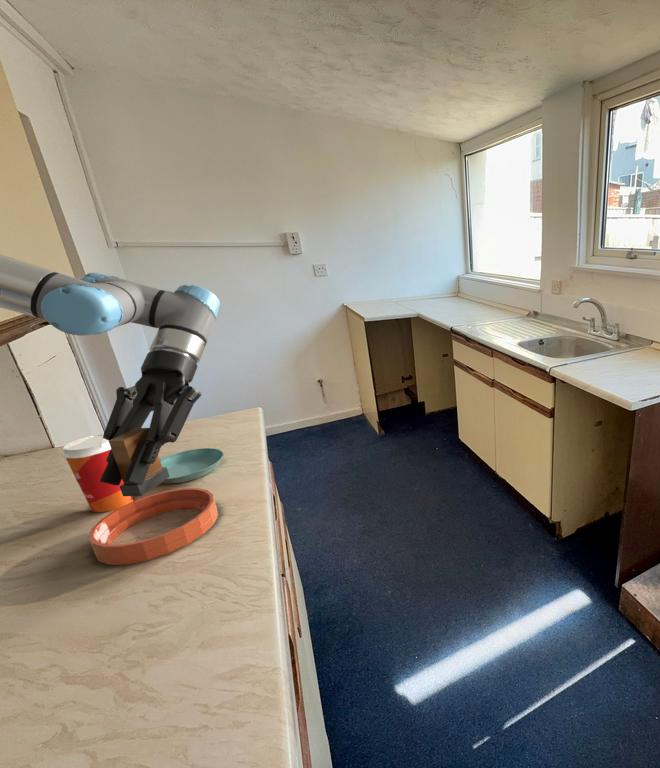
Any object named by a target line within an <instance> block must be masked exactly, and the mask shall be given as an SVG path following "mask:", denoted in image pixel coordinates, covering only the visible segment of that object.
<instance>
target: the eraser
mask: <svg viewBox="0 0 660 768" xmlns="http://www.w3.org/2000/svg"><path fill="white" fill-rule="evenodd" d="M149 428H150V427H141V428H135V429H133V430H131V431H128V432H126V433H124V434H122V435H120V436H118V437H116V438H114V439H112V440H109V444H110V447H111V449H112V452H113V455H114V458H115V461H116V463H117V466H118V469H119V472H120V475H121V477H122V480H123V483H124V484H122V485H120V489H121V492H122V495H123V496H132V497H142V496H143V495H145V494H146V493H149V491H152V489H154V488H155V487H157V486H159V485H160V484H162V482H163V481H164V480H166V479H167V478H169V477H170V476H169V473H168V470H167V467H162V465H161V461H160V459H161V458H160V455H159V454H158V456H157V458H156V461H155V462H154V463H153V464H150V467H149V469H148V472H147V474H146V477H145V479H144V482H143V484H142V485H136V484H132V483H129V482H125V481H124V479H125V477H126V475H127V472H128V470H129V467H130V465H131V463H132V460H133V458H134V455H135V453H136V451H137V448H138V446H139V444H140V442H146V443H148V441H145V440H143V437H144V438H145V437H147V436H148V432H149Z"/></svg>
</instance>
